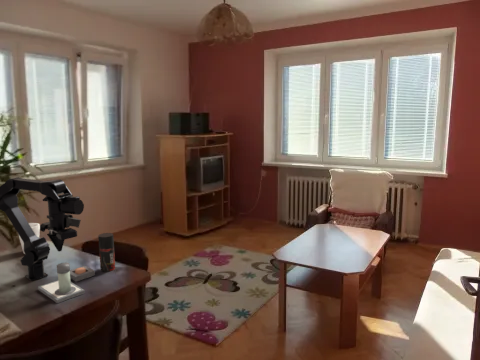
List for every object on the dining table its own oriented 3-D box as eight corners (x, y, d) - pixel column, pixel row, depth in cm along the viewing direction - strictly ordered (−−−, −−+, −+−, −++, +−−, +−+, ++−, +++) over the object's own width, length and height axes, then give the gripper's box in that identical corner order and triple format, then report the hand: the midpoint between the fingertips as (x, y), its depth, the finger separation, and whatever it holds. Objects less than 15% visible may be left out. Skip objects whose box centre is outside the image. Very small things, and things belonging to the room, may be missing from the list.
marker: (58, 289, 138) (56, 263, 136) (70, 287, 140) (68, 261, 138) (59, 294, 134) (57, 267, 132) (72, 291, 136) (70, 265, 134)
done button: (73, 275, 153) (73, 269, 152) (82, 272, 156) (82, 266, 155) (78, 278, 150) (77, 272, 150) (87, 275, 153) (87, 269, 153)
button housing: (66, 276, 153) (66, 271, 152) (85, 270, 159) (84, 265, 158) (75, 281, 148) (75, 276, 147) (94, 275, 154) (94, 270, 153)
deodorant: (110, 272, 157) (108, 237, 154) (97, 271, 158) (95, 236, 155) (117, 266, 162) (115, 233, 160) (105, 265, 164) (103, 232, 161)
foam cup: (28, 248, 186) (25, 222, 183) (46, 248, 185) (43, 223, 182) (15, 254, 176) (12, 228, 174) (33, 255, 175) (31, 228, 173)
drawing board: (38, 289, 141) (37, 286, 140) (64, 280, 148) (64, 277, 148) (57, 303, 130) (56, 299, 130) (84, 293, 138) (84, 289, 138)
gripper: (89, 212, 145) (91, 251, 148) (65, 205, 157) (68, 240, 159) (60, 218, 137) (63, 259, 139) (37, 210, 148) (41, 247, 151)
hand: (59, 251), depth 147 cm, fingers closed
